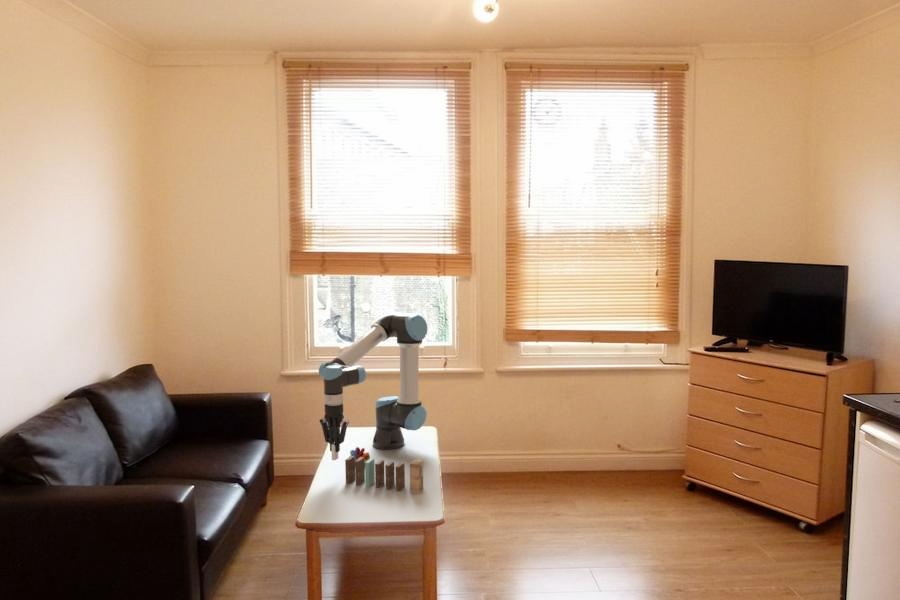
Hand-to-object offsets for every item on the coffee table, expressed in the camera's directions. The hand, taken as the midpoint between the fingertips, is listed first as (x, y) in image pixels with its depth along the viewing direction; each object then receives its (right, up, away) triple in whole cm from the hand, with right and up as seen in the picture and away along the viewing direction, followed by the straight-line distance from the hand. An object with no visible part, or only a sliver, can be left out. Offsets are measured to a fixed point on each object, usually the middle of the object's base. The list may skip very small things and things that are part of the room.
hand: (335, 459), depth 253 cm
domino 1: (+7, -9, -1) cm, 11 cm away
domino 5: (+28, -10, -9) cm, 31 cm away
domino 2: (+11, -9, -3) cm, 14 cm away
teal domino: (+15, -9, -5) cm, 18 cm away
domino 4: (+24, -9, -8) cm, 26 cm away
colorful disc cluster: (+7, -7, +19) cm, 21 cm away
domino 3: (+19, -9, -6) cm, 22 cm away
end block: (+34, -10, -12) cm, 38 cm away
